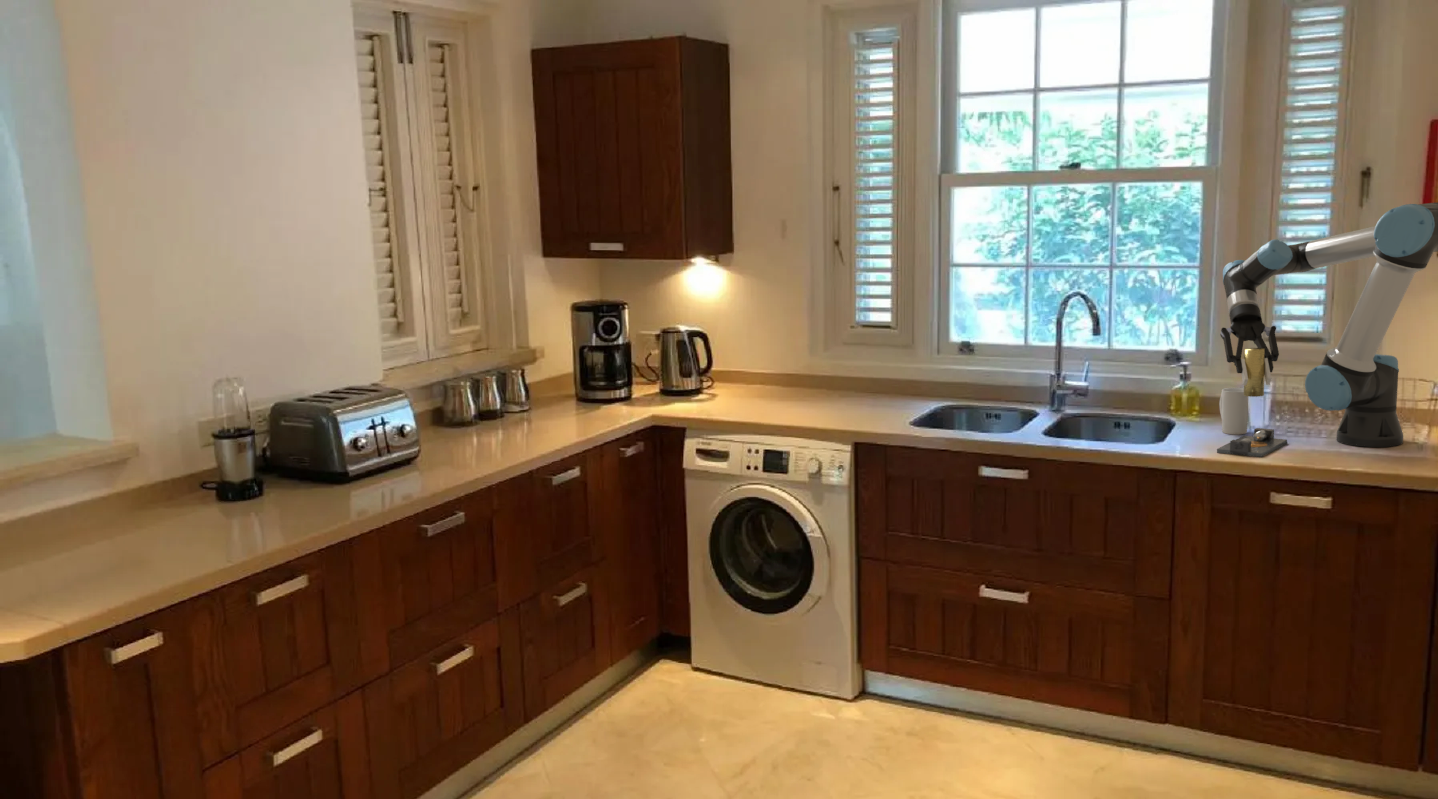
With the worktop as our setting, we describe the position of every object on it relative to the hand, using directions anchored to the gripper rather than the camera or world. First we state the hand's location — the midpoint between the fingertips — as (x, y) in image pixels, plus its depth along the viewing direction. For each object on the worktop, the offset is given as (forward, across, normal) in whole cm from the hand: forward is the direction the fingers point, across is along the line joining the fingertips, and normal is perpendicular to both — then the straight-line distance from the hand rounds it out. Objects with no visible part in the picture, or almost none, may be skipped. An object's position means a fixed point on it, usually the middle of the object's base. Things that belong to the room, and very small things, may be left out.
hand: (1257, 381), depth 294 cm
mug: (-5, +1, -31) cm, 31 cm away
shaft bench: (+10, 0, -16) cm, 19 cm away
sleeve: (0, 0, -6) cm, 6 cm away
